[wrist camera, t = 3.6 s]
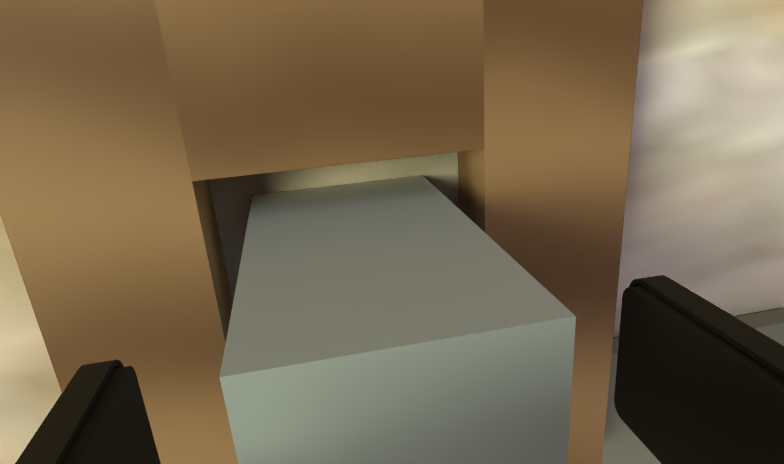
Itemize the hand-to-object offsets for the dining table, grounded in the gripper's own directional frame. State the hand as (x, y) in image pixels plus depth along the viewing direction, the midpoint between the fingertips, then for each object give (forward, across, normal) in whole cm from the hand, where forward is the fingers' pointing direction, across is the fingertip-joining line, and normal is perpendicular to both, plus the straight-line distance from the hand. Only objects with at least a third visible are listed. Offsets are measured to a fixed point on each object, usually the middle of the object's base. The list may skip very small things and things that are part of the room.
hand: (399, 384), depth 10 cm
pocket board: (+5, 0, 0) cm, 5 cm away
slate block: (+5, 0, 0) cm, 5 cm away
